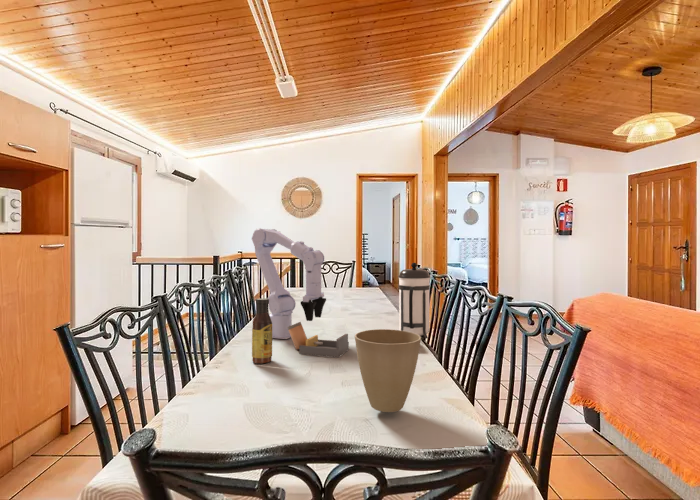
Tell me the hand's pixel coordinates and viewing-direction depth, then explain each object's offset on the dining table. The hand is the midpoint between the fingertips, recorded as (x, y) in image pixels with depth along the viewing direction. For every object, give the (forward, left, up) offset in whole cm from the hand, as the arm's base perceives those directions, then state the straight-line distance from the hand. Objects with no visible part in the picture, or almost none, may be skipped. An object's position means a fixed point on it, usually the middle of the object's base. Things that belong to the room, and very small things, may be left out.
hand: (313, 318), depth 146 cm
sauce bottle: (-6, -26, -10) cm, 28 cm away
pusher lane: (+8, -9, -9) cm, 15 cm away
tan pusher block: (+3, -9, -9) cm, 13 cm away
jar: (0, -9, -8) cm, 12 cm away
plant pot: (+40, -47, -10) cm, 62 cm away
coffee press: (+34, +23, -10) cm, 42 cm away
